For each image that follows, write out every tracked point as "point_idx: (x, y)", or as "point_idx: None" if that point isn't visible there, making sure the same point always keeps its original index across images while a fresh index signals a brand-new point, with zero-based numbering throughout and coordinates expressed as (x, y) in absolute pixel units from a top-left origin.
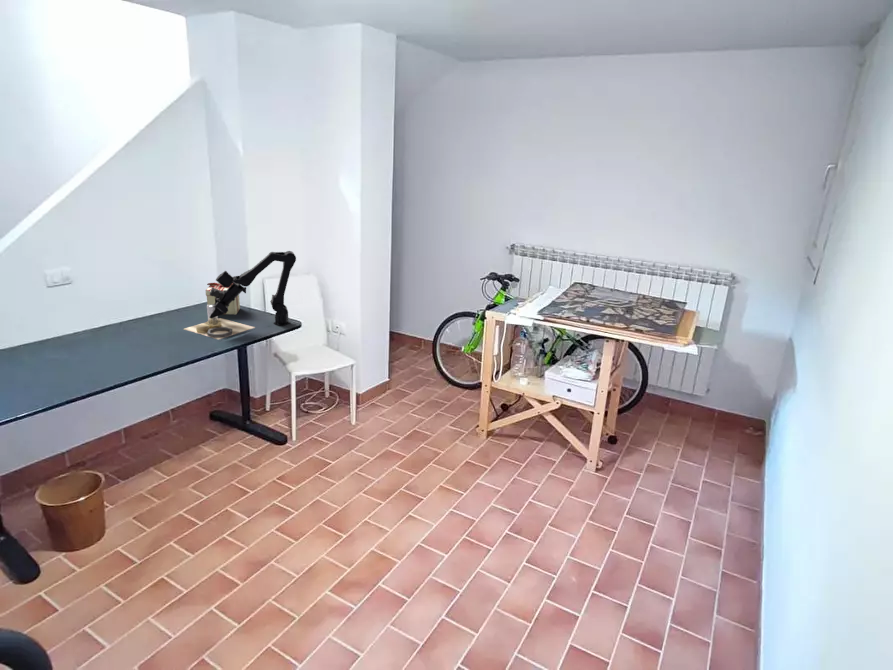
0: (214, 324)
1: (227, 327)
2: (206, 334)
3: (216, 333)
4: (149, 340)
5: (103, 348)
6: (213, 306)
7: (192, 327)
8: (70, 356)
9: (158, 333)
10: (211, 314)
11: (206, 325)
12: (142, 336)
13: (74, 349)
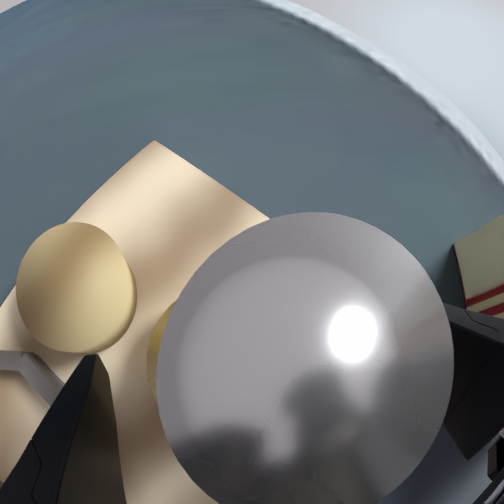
0: (155, 396)
1: (192, 493)
2: (2, 339)
3: (24, 418)
4: (46, 76)
5: (37, 29)
6: (227, 478)
7: (184, 189)
8: (21, 20)
9: (132, 70)
10: (57, 398)
11: (81, 320)
12: (108, 45)
13: (62, 4)
